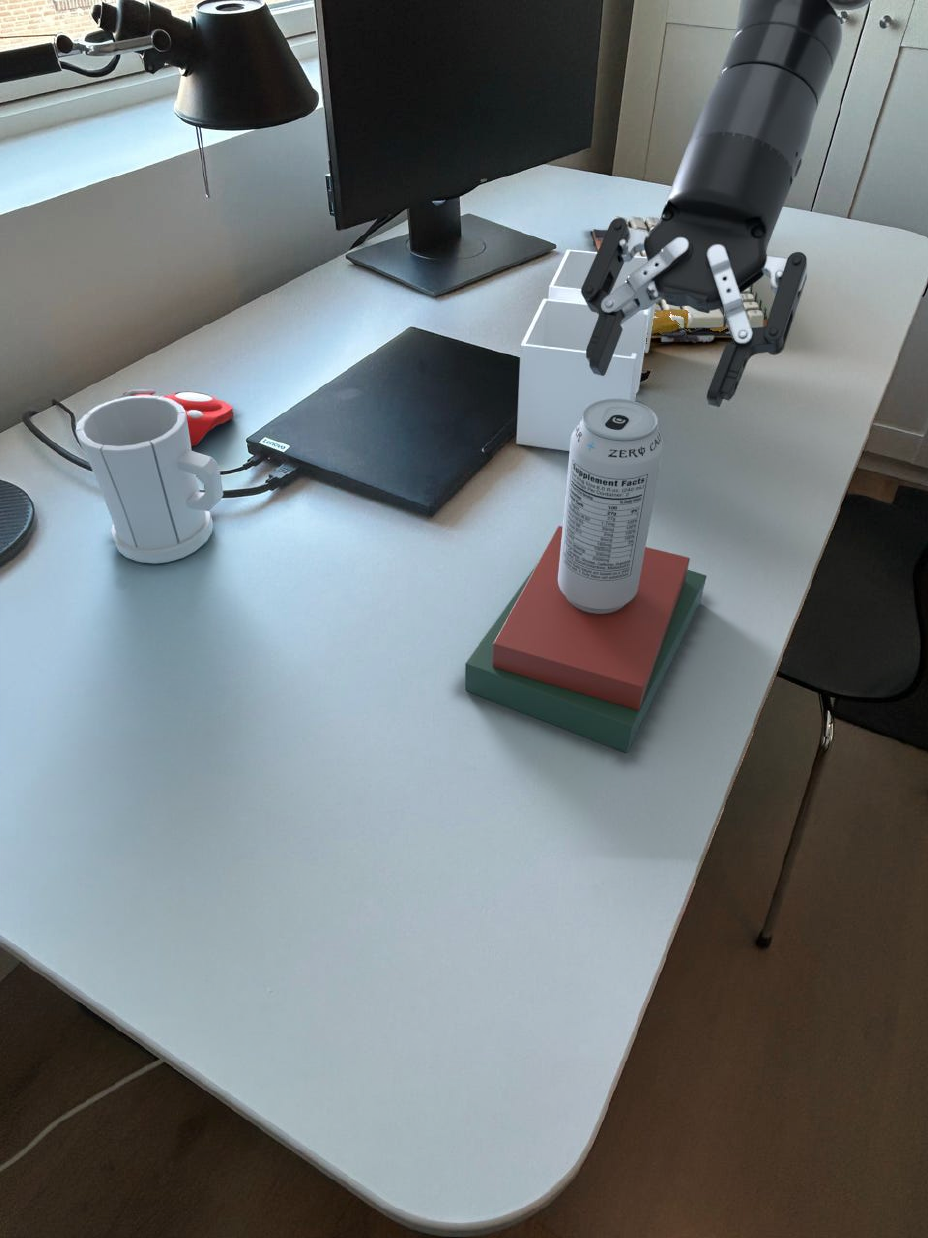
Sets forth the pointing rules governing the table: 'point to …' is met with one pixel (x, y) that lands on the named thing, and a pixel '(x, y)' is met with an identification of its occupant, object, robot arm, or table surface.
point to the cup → (150, 477)
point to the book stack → (586, 649)
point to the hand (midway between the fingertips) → (653, 386)
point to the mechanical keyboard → (694, 317)
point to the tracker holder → (196, 411)
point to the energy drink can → (608, 504)
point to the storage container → (574, 357)
